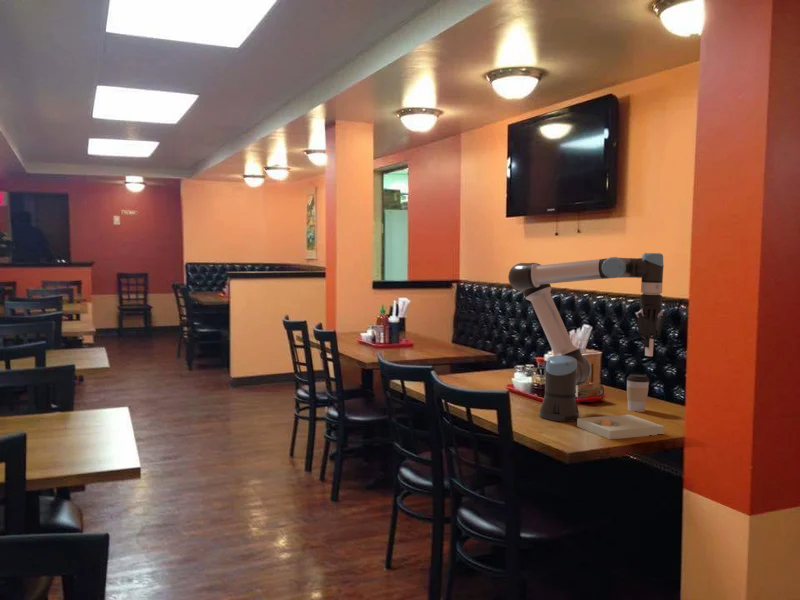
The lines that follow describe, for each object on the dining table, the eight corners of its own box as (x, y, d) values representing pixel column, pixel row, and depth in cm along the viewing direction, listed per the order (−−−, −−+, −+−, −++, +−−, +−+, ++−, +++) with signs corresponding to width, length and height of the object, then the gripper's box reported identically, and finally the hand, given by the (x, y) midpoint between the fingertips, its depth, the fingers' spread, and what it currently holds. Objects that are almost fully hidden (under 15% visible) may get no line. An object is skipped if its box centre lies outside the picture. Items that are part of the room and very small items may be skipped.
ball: (596, 428, 236) (599, 418, 237) (605, 431, 238) (607, 420, 239) (604, 430, 233) (606, 419, 233) (612, 433, 234) (615, 422, 235)
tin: (578, 404, 280) (579, 384, 280) (573, 402, 283) (574, 383, 282) (604, 401, 288) (605, 382, 287) (598, 399, 290) (599, 381, 290)
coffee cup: (627, 411, 268) (629, 375, 267) (622, 406, 277) (624, 371, 276) (650, 413, 267) (652, 376, 266) (644, 408, 276) (646, 372, 275)
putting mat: (577, 426, 242) (577, 418, 242) (628, 422, 251) (629, 414, 251) (609, 439, 225) (610, 430, 225) (663, 434, 234) (664, 426, 234)
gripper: (643, 294, 241) (641, 357, 243) (672, 294, 246) (669, 356, 247) (630, 293, 248) (628, 354, 250) (658, 293, 253) (656, 354, 254)
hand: (648, 355), depth 248 cm, fingers closed
